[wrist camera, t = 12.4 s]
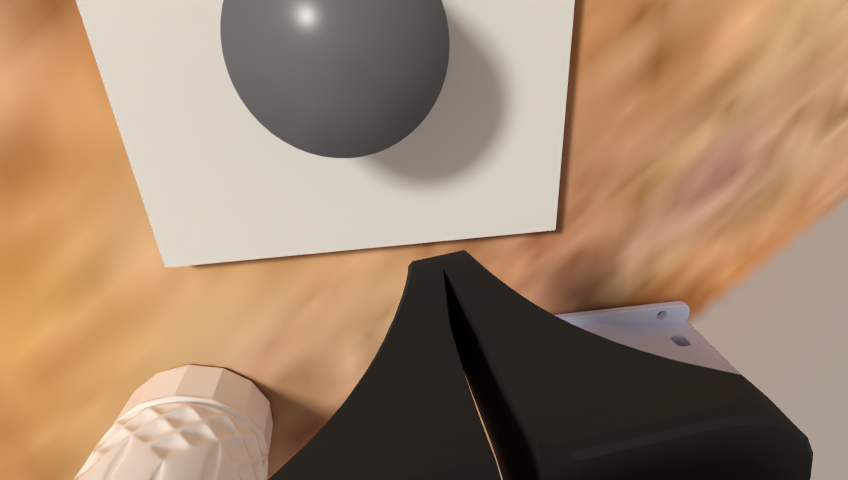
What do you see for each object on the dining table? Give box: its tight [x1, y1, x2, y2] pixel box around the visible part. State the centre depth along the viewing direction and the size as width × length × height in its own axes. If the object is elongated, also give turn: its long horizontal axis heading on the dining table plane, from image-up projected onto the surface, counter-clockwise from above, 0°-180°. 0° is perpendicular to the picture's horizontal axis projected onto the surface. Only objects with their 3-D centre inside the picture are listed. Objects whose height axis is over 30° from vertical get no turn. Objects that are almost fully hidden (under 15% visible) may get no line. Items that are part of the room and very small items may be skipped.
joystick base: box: [76, 0, 575, 268], centre depth 16 cm, size 16×16×2 cm
